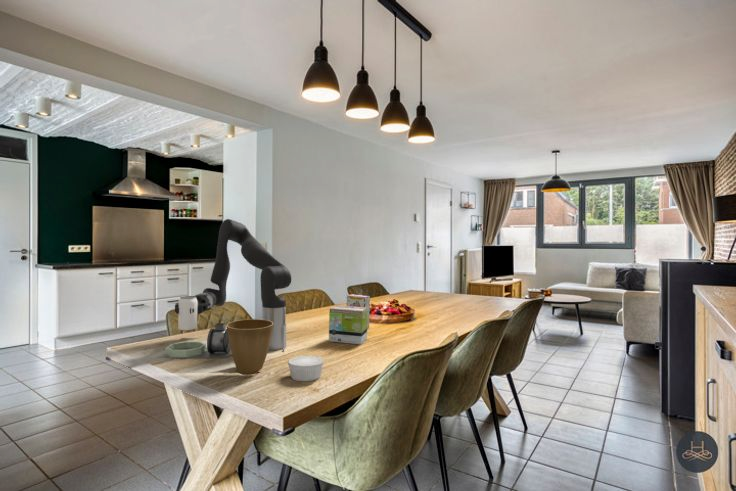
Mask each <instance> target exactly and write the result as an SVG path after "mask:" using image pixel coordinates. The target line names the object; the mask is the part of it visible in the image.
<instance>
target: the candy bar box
mask: <svg viewBox="0 0 736 491" xmlns="http://www.w3.org/2000/svg"><path fill="white" fill-rule="evenodd" d="M370 302H371V297H370V295H363V294H362V295H361V294H353V293H352V294H347V295H346V306H353V307H367V308H368V315H367V330H369V329H370V310H371V309H370V307H371V306H370V304H371V303H370Z"/></svg>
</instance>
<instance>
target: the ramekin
mask: <svg viewBox="0 0 736 491" xmlns="http://www.w3.org/2000/svg"><path fill="white" fill-rule="evenodd" d="M287 364H288V366H289V374H290V377H291V378H292V379H293V380H294V381H297V382H311V381H316V380H318V379H319V378H320V377H321V376H322V371H323V365H324V358H322V357H319V356H314V355H304V356H303V355H302V356H297V357H293V358H291V359H289V360H288V361H287Z"/></svg>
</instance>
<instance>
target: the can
mask: <svg viewBox="0 0 736 491" xmlns="http://www.w3.org/2000/svg"><path fill="white" fill-rule="evenodd" d="M178 303H179V314H178V324H177V326H178V327H177V328H178V330H179V331H182V332H185V331H186V332H188V331H193V330H194V331H195V330H197V328H198V314H197V308H198V301H197V299H196V296H195V295H185V296H184V295H183V296H179V301H178ZM190 308H191V313H190ZM192 309H194V312H193V313H192Z"/></svg>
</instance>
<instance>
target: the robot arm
mask: <svg viewBox="0 0 736 491" xmlns="http://www.w3.org/2000/svg"><path fill="white" fill-rule="evenodd" d="M229 241H231V242H234V243H236V244H238V245H239V246H241V247H240V248H241V249H240V253H241V255H242V257H243V258H244V259H245V260H246V262H247V263H248V264H249V265H251V266H252V267H255V268H256V269H259V270H261V273H260V299H261V300H260V301H261V308H262V309H261V315H262V316H261V319H262V320H268V321H271V322H273V329H272V335H271V340H270V345H269V349H268V351H278V350H282V352H285V350H286V349H287V323H286V320H287V319H286V316H287V315H286V313H287V312H286V310H287V307H286V306H287V302H286V301H287V300H286V298H284V297H281V296H278V295H277V294H276V291H275V290H282V289H286V288H288V287H290V285H291V283H292V274H291V272H290V270H289V269H288V267H287V266H286V265H284V264H283V263H282V262H280V261H279V260H278V259H277V258H275V257H274V255H272V254H271V253H270V252H269V251H268V250H267V248H265V246H263V244H262V243H261V242H259V241H258V240H257V239H256V238H255V237H254V236H253V235H252V234H251V232H250V230H249V229H248V228H247V227H246V225H244V224H243V223H242V222H238V221H236V220H233V219H231V218H230V219H229V218H227V219H225V220H223V221H222V222H221V225H220V227H219V231H218V239H217V246H216V256H215V262H214V265H213V269H212V273H211V276H210V282H211V283H212V284H214V285H217V286H218V289H216V288H211V287H207V288H204V289H203V291H202V293H201V292H200V293H197V294H195V295H194V296H196V299H197V301H198V308H197V315H200V314H202V313H205V312H207V311H210V310H212V307H214V306H217V307H221V306H223V305H224V304H225V303H226V301H227V283H228V282H227V281H228V278H229V274H230V270H231V262H230V258H229V254H228V253H229V252H228V243H229ZM174 312H175V314H179V302H175V305H174ZM193 312H194V309H192V313H193ZM190 313H191V308H190Z"/></svg>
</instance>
